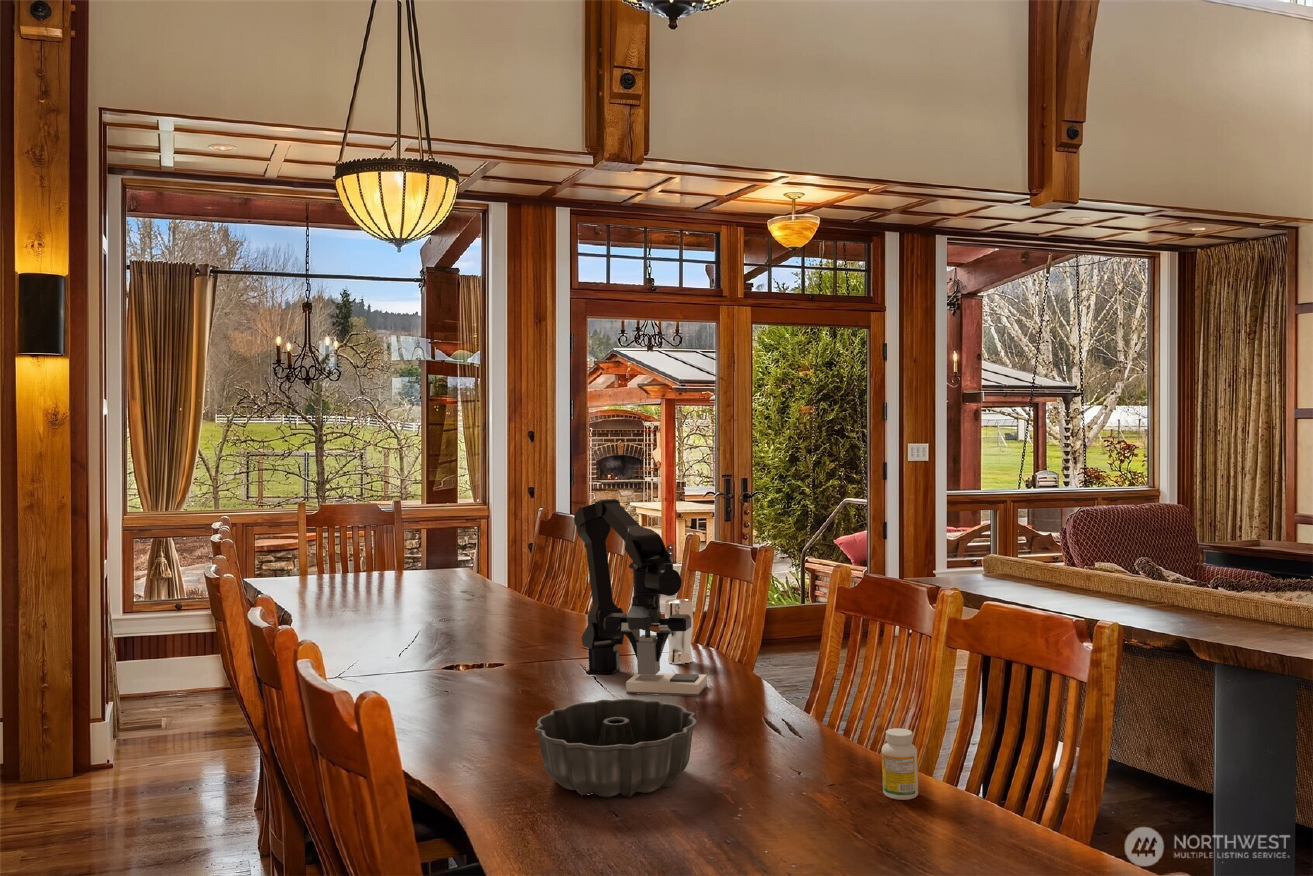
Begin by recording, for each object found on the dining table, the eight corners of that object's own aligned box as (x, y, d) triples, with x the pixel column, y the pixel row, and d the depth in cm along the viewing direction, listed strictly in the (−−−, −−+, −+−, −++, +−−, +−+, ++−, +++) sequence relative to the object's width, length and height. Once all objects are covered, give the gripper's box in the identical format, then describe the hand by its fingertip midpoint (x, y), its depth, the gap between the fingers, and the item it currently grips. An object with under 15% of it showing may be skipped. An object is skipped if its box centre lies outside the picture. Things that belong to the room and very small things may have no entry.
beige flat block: (626, 693, 224) (625, 680, 224) (637, 683, 233) (637, 670, 233) (698, 696, 220) (697, 682, 220) (707, 686, 228) (706, 672, 228)
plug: (637, 674, 226) (636, 631, 226) (642, 670, 230) (641, 627, 230) (655, 674, 225) (654, 631, 225) (660, 670, 229) (658, 628, 229)
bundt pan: (685, 813, 153) (683, 746, 153) (515, 807, 158) (513, 742, 158) (708, 757, 179) (706, 699, 179) (561, 753, 184) (560, 697, 184)
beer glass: (692, 665, 249) (690, 603, 249) (663, 665, 250) (661, 603, 250) (696, 659, 256) (694, 598, 256) (669, 658, 257) (667, 598, 257)
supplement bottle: (908, 803, 154) (906, 739, 154) (876, 796, 157) (874, 733, 157) (924, 793, 158) (922, 730, 158) (892, 786, 162) (891, 725, 162)
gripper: (594, 595, 222) (596, 668, 222) (678, 597, 217) (681, 671, 217) (610, 587, 232) (612, 656, 233) (690, 588, 228) (692, 659, 228)
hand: (648, 661), depth 227 cm, fingers closed on plug, 4 cm apart
